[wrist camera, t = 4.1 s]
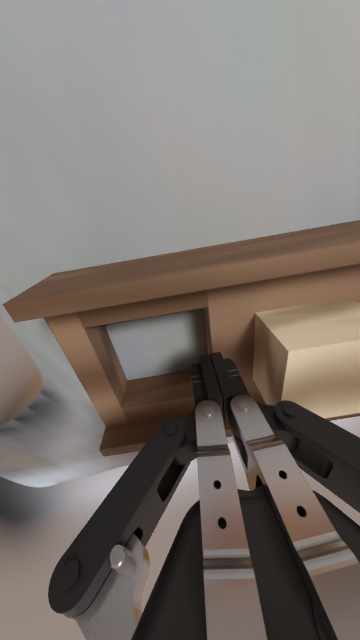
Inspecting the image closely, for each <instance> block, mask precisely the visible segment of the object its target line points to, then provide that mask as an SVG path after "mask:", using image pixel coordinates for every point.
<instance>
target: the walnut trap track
mask: <svg viewBox="0 0 360 640" xmlns="http://www.w3.org/2000/svg"><path fill="white" fill-rule="evenodd" d="M347 297H348V298H350V299H352V300H354V301H356V302H358V303H360V220H358V221H353V222H347V223H341V224H336V225H330V226H324V227H318V228H313V229H307V230H301V231H295V232H290V233H284V234H278V235H272V236H267V237H261V238H255V239H249V240H244V241H238V242H232V243H226V244H221V245H215V246H209V247H203V248H198V249H192V250H186V251H181V252H175V253H169V254H163V255H158V256H152V257H146V258H140V259H135V260H129V261H123V262H117V263H112V264H106V265H100V266H94V267H89V268H83V269H77V270H71V271H66V272H60V273H54V274H52V275H50V276H49V277H47V278H45V279H44V280H42V281H41V282H39V283H37V284H36V285H34V286H32V287H31V288H29V289H27V290H26V291H24V292H22V293H21V294H19V295H18V296H16V297H14V298H13V299H11V300H9V301H8V302H6V303H4V304H3V306H4V307H5V309H6V310H7V312H8V313H9V315H10V316H11V318H12V319H13V321H14V322H20V321H26V320H32V319H38V318H44V319H45V320H46V322H47V324H48V326H49V327H50V329H51V331H52V333H53V334H54V336H55V338H56V340H57V341H58V343H59V345H60V347H61V348H62V350H63V352H64V354H65V355H66V357H67V359H68V361H69V362H70V364H71V366H72V368H73V369H74V371H75V373H76V375H77V376H78V378H79V380H80V382H81V383H82V385H83V387H84V389H85V390H86V392H87V394H88V396H89V397H90V399H91V401H92V403H93V404H94V406H95V408H96V410H97V411H98V413H99V415H100V417H101V418H102V420H103V422H104V424H105V426H106V427H105V431H104V435H103V439H102V443H101V446H100V452H101V453H102V455H103V456H110V455H116V454H123V453H129V452H135V451H141V449H142V448H143V447H144V445H145V444H146V443H147V441H148V440H149V439H150V437H151V436H152V435H153V433H154V432H155V430H156V429H157V428H158V426H159V425H160V424H161V423H162V421H164V420H165V419H167V418H170V417H175V418H178V419H180V420H181V419H183V418H185V417H187V416H189V415H190V414H191V413H192V412H193V410H194V408H195V399H194V392H193V386H192V379H191V373H190V371H184V372H178V373H172V374H166V375H160V376H154V377H148V378H142V379H135V380H129V381H127V379H126V377H125V374H124V372H123V370H122V367H121V365H120V362H119V360H118V357H117V355H116V352H115V350H114V347H113V345H112V342H111V340H110V337H109V335H108V332H107V330H106V327H105V324H111V323H116V322H122V321H128V320H134V319H140V318H146V317H152V316H158V315H164V314H170V313H175V312H181V311H187V310H193V309H199V308H203V314H204V323H205V333H206V342H207V351H208V354H209V355H210V353H216V352H221V354H222V357H223V359H228V358H230V359H231V360H232V361H233V362H235V364H236V366H237V368H238V371H239V373H240V375H241V377H242V379H243V382H244V384H245V386H246V388H247V391H248V393H249V395H250V396H251V398H253V399H254V400H255V401H257V402H259V403H261V404H266V403H265V401H264V399H263V397H262V395H261V393H260V391H259V389H258V388H257V386H256V384H255V382H254V380H253V360H254V335H255V313H257V312H263V311H269V310H275V309H281V308H287V307H293V306H299V305H305V304H311V303H317V302H323V301H329V300H335V299H341V298H347ZM355 416H360V413H356V414H350V415H344V416H337V417H331V418H325V419H326V420H328V421H331V420H337V419H343V418H349V417H355ZM224 428H225V434H226V437H230V436H232V431H231V426H230V423H225V421H224Z"/></svg>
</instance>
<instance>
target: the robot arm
mask: <svg viewBox="0 0 360 640" xmlns="http://www.w3.org/2000/svg"><path fill="white" fill-rule="evenodd" d="M190 373H191V379H192V386H193V392H194V399H195V408H194V410H193V412H192V413H191V414H190V415H189V416H187V417H185V418H183V419H181V420H180V419H178V418H175V417H170V418H167V419H165V420H164V421H162V423H161V424H160V425H159V426H158V428H157V429H156V430H155V432H154V433H153V435H152V436H151V437H150V439H149V440H148V441H147V443H146V444H145V445H144V447H143V448H142V449H141V451H140V452H139V453H138V455H137V456H136V457H135V459H134V460H133V462H132V463H131V464H130V466H129V467H128V468H127V470H126V471H125V472H124V474H123V475H122V476H121V478H120V479H119V480H118V482H117V483H116V484H115V486H114V487H113V489H112V490H111V491H110V493H109V494H108V495H107V497H106V498H105V499H104V501H103V502H102V503H101V505H100V506H99V507H98V509H97V510H96V511H95V513H94V514H93V516H92V517H91V518H90V520H89V521H88V523H87V524H86V525H85V526H84V528H83V529H82V530H81V532H80V533H79V534H78V536H77V537H76V538H75V540H74V541H73V543H72V544H71V545H70V547H69V548H68V549H67V551H66V552H65V553H64V555H63V556H62V558H61V559H60V561H59V562H58V564H57V565H56V567H55V569H54V572H53V574H52V577H51V580H50V584H49V592H48V598H49V603H50V606H51V608H52V609H53V610H54V611H55V612H57V613H60V614H64V615H65V616H66V617H68V618H71V619H75V620H76V621H77V623H78V625H79V627H80V629H81V631H82V633H83V634H84V637H85V638H86V640H360V526H359V525H358V524H356V523H355V522H354V521H353V520H352V519H350V518H349V517H348V516H347V515H345V514H344V513H343V512H342V511H341V510H339V509H338V508H337V507H336V506H334V505H333V504H332V503H331V502H330V501H328V500H327V499H326V498H324V497H323V496H321V495H320V494H318V493H317V492H315V491H313V490H312V489H311V487H310V486H309V484H308V482H307V481H306V479H305V477H304V475H303V474H302V472H301V470H300V469H299V468H301V469H302V470H303V471H304V472H306V473H307V474H309V475H310V476H311V477H313V478H314V479H315V480H317V481H318V482H319V483H321V484H322V485H323V486H325V487H326V488H327V489H329V490H330V491H331V492H333V493H334V494H335V495H337V496H338V497H339V498H341V499H342V500H343V501H345V502H346V503H347V504H349V505H350V506H352V507H353V508H354V509H355V510H357V511H358V512H359V513H360V438H359V437H357V436H355V435H353V434H351V433H350V432H348V431H346V430H344V429H343V428H340V427H339V426H337V425H335V424H333V423H332V422H330V421H328V420H326V419H324V418H322V417H320V416H319V415H317V414H315V413H313V412H311V411H309V410H308V409H306V408H304V407H302V406H300V405H298V404H297V403H295V402H292V401H288V400H283V401H279V402H278V403H277V404H276V405H275V406H273V405H266V404H261V403H259V402H257V401H255V400H254V399H253V398H251V396H250V395H249V393H248V391H247V388H246V386H245V384H244V382H243V379H242V377H241V375H240V373H239V371H238V368H237V366H236V364H235V362H233V361H232V360H231V359H230V358H228V359H223V357H222V354H221V352H216V353H210V355H209V354H204V355H199V363H197V364H192V366H191V369H190ZM224 421H225V423H230V426H231V431H232V438H233V440H234V443H235V446H236V449H237V451H238V454H239V457H240V459H241V462H242V465H243V467H244V470H245V473H246V477H247V482H248V486H249V489H250V491H245V490H239V489H237V486H236V481H235V475H234V470H233V465H232V460H231V455H230V451H229V449H228V444H227V439H226V434H225V428H224ZM195 458H197V462H198V479H199V495H200V500H199V501H197V502H196V503H195V504H194V505H193V506H192V507H191V508H190V509H189V511H188V512H187V514H186V516H185V517H184V519H183V521H182V523H181V525H180V528H179V530H178V532H177V535H176V537H175V539H174V542H173V544H172V547H171V548H170V551H169V553H168V555H167V558H166V560H165V563H164V565H163V567H162V569H161V572H160V574H159V576H158V579H157V581H156V583H155V585H154V588H153V590H152V593H151V595H150V597H149V599H148V602H147V604H146V607H145V609H144V611H143V613H142V612H141V598H142V593H143V589H144V586H145V583H146V580H147V578H148V574H149V567H150V561H149V555H148V551H147V549H146V547H145V546H146V544H147V542H148V540H149V539H150V537H151V535H152V533H153V531H154V529H155V527H156V526H157V524H158V522H159V520H160V518H161V516H162V514H163V513H164V511H165V509H166V507H167V505H168V503H169V501H170V499H171V498H172V496H173V494H174V492H175V490H176V488H177V487H178V485H179V483H180V481H181V479H182V477H183V475H184V474H185V472H186V470H187V468H188V466H189V464H190V462H191V461H192V460H194V459H195Z"/></svg>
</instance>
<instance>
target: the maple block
mask: <svg viewBox="0 0 360 640" xmlns="http://www.w3.org/2000/svg"><path fill="white" fill-rule="evenodd" d="M253 380H254V382H255V384H256V386H257V388H258V389H259V391H260V393H261V395H262V397H263V399H264V401H265V403H266V405H273V406H275V405H276V404H277V403H278V402H279V401H283V400H288V401H292V402H295V403H297V404H298V405H300V406H302V407H304V408H306V409H308V410H309V411H311V412H313V413H315V414H317V415H319V416H320V417H322V418H324V419H325V418H331V417H337V416H344V415H350V414H356V413H360V303H358V302H356V301H354V300H352V299H350V298H348V297H347V298H341V299H335V300H329V301H323V302H317V303H311V304H305V305H299V306H293V307H287V308H281V309H275V310H269V311H263V312H257V313H255V335H254V360H253Z"/></svg>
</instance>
